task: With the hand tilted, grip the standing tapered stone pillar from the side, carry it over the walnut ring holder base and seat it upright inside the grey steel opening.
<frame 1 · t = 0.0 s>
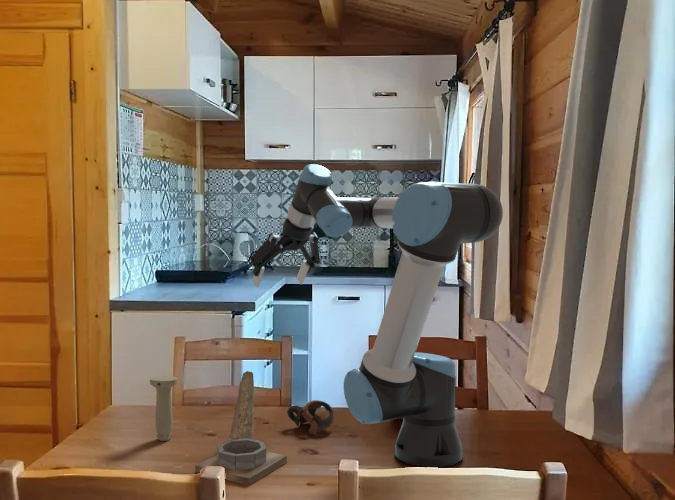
hand: (277, 282, 180), 36 cm above the table, tool tilted 35°, fingers open, 13 cm apart
beer bottle: (407, 417, 177), on the table
handle: (164, 440, 159), on the table
ring holder base: (241, 467, 142), on the table
tapered stone pillar: (241, 444, 157), on the table
dark twisted loops: (310, 429, 168), on the table
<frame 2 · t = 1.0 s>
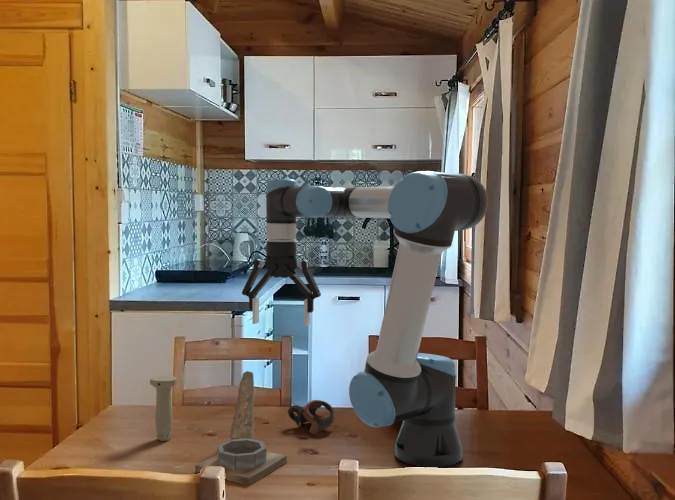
hand: (281, 324, 167), 27 cm above the table, tool pointing down, fingers open, 13 cm apart
nothing on the table moved.
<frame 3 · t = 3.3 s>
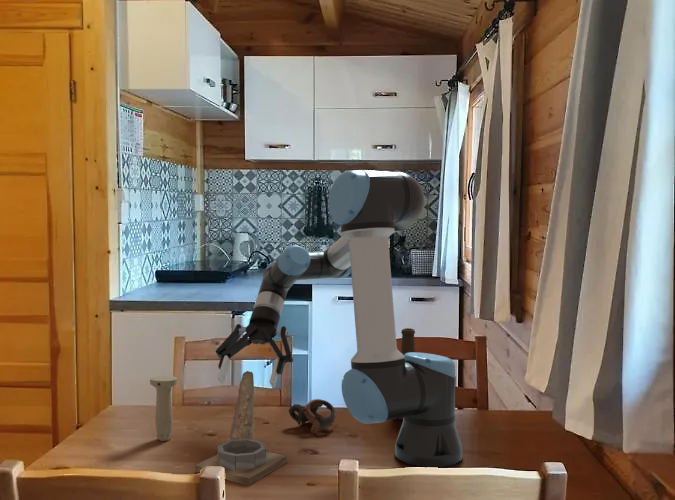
hand: (245, 382, 161), 13 cm above the table, tool tilted 45°, fingers open, 13 cm apart
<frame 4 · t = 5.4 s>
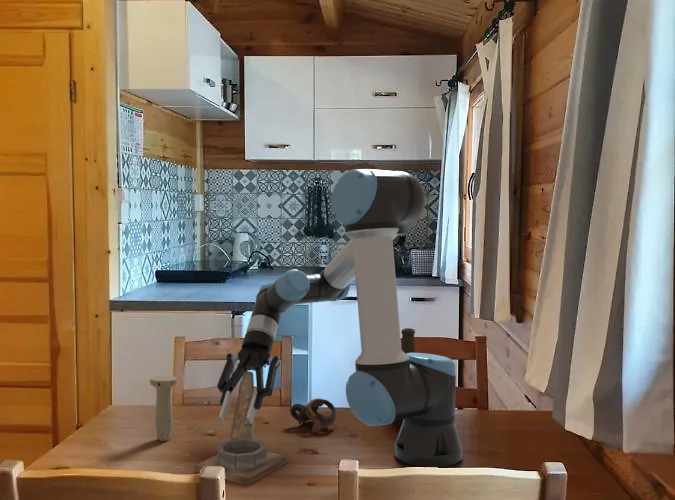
hand: (235, 419, 153), 7 cm above the table, tool tilted 45°, fingers open, 6 cm apart
tapered stone pillar: (241, 444, 157), on the table, touching gripper
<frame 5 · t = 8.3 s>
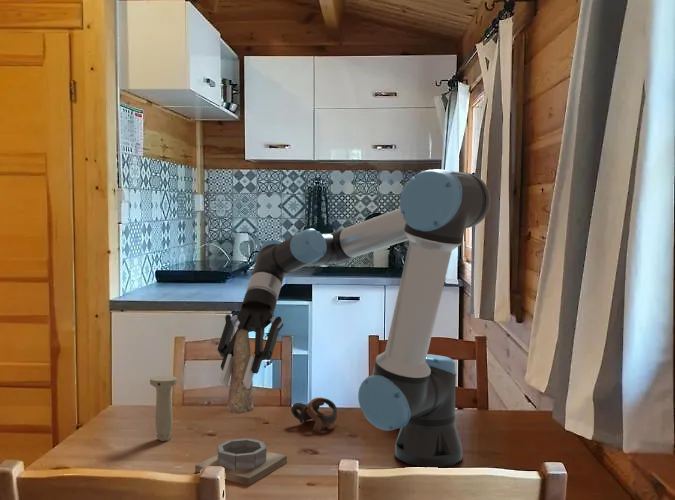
hand: (234, 384, 138), 19 cm above the table, tool tilted 45°, fingers closed on tapered stone pillar, 4 cm apart
tapered stone pillar: (241, 410, 142), point 12 cm above the table, touching gripper
when the fingers open (10 cm above the table, at t = 10.8 s): tapered stone pillar drops 2 cm, resting on ring holder base.
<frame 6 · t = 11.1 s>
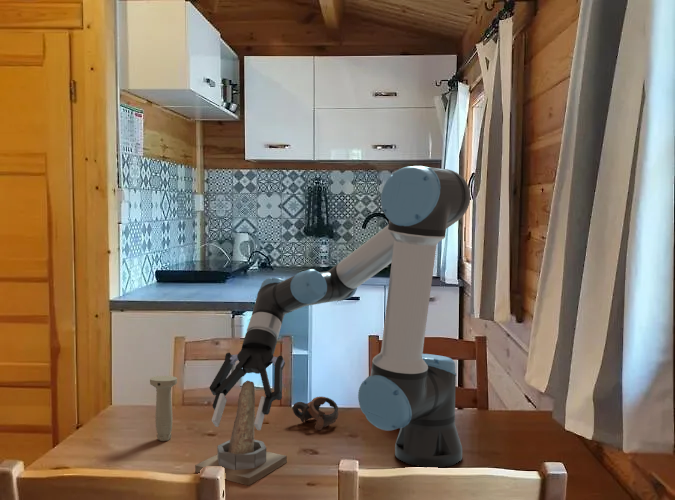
hand: (235, 425, 138), 10 cm above the table, tool tilted 45°, fingers open, 9 cm apart
tapered stone pillar: (241, 461, 142), point 1 cm above the table, touching ring holder base
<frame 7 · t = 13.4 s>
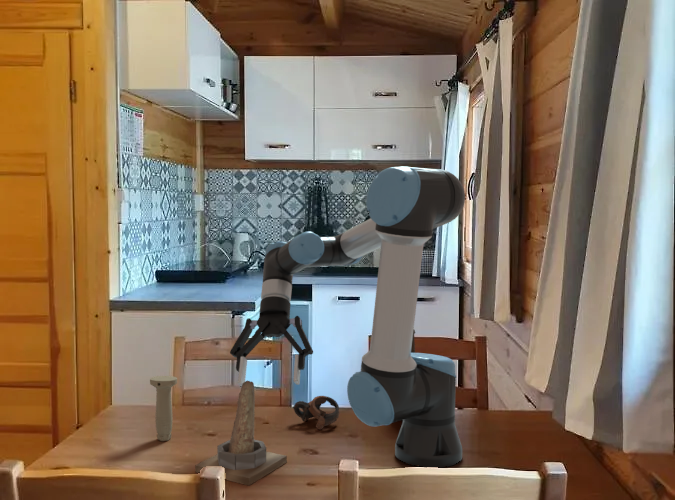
hand: (268, 384, 154), 15 cm above the table, tool tilted 30°, fingers open, 13 cm apart
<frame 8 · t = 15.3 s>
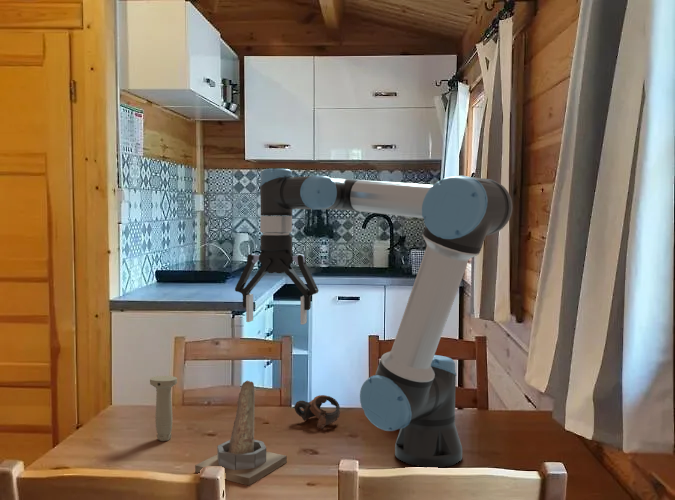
hand: (276, 322, 158), 29 cm above the table, tool pointing down, fingers open, 13 cm apart
at the end: tapered stone pillar inside the target area on the ring holder base (0.2 cm from its centre), point 1.3 cm above the ring holder base's base; tapered stone pillar tilted 0°; the gripper is holding nothing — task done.
